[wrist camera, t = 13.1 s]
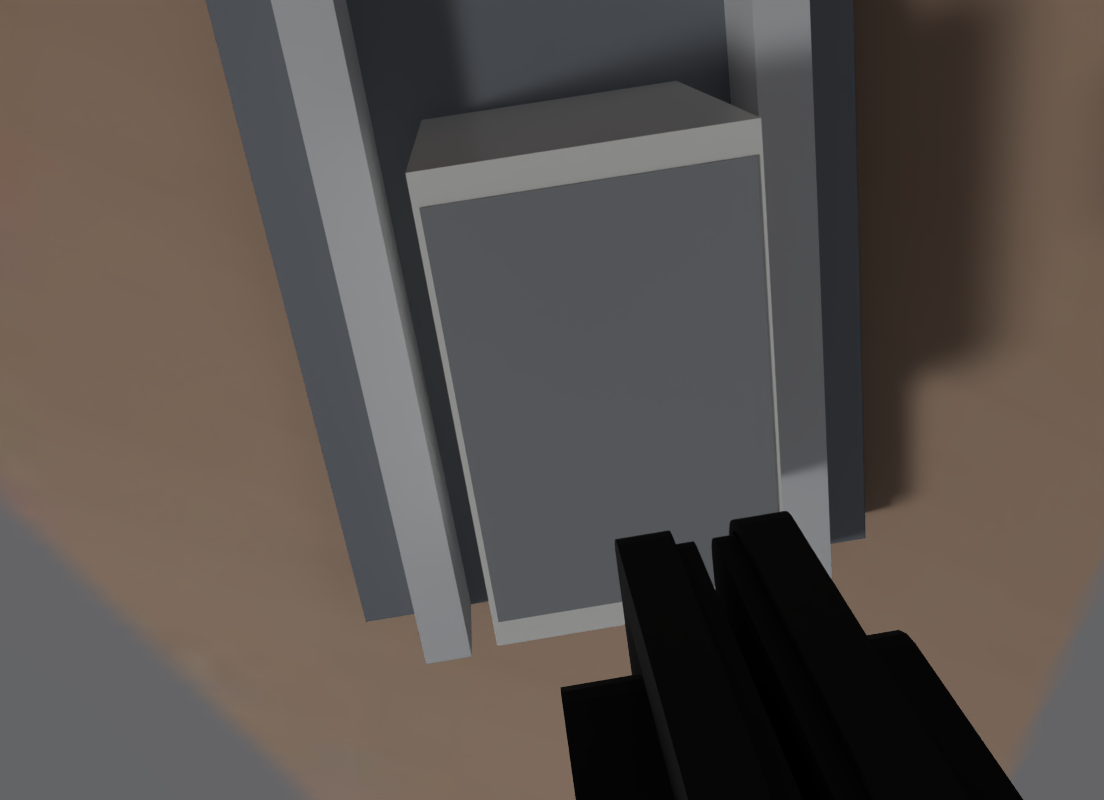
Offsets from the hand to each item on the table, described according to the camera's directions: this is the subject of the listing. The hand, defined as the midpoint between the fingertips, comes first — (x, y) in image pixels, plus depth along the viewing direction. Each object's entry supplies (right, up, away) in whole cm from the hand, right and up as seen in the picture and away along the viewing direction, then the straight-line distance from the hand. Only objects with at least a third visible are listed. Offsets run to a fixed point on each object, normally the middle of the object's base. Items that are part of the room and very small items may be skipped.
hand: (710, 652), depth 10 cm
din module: (-1, +5, +11) cm, 12 cm away
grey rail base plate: (-1, +5, +12) cm, 13 cm away
